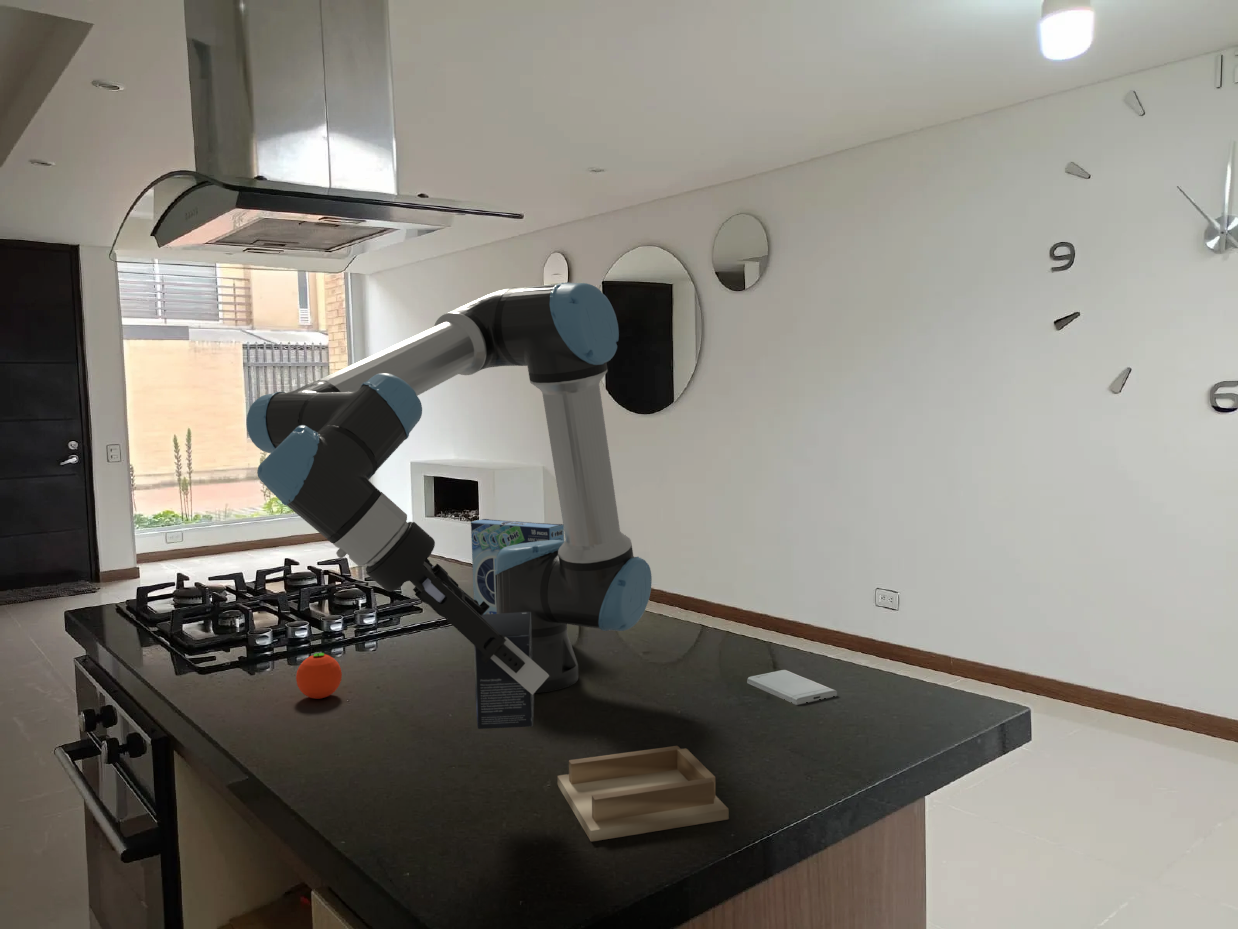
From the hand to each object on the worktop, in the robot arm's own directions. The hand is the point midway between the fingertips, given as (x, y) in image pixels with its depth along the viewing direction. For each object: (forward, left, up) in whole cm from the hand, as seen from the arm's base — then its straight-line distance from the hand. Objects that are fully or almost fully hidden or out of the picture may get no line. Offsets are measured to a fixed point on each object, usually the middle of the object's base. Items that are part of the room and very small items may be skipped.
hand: (529, 669), depth 106 cm
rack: (+3, +12, -16) cm, 20 cm away
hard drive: (-27, +48, -17) cm, 58 cm away
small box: (0, -3, -5) cm, 6 cm away
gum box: (-73, +13, -16) cm, 76 cm away
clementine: (-49, -24, -16) cm, 57 cm away
